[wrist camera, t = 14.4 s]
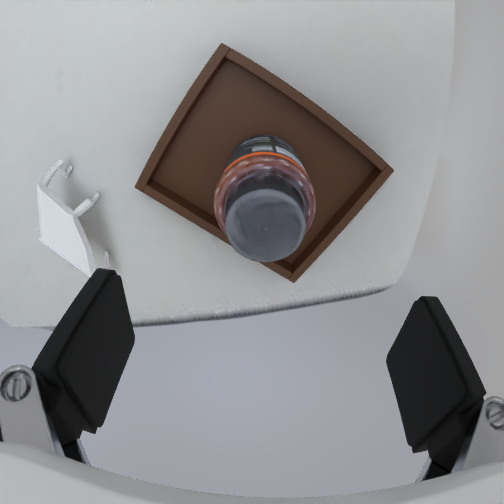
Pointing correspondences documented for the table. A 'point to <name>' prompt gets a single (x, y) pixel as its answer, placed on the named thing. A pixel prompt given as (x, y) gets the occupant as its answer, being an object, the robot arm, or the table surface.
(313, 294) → the table surface
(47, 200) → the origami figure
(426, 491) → the robot arm
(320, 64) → the table surface
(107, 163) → the table surface
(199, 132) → the serving tray
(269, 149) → the supplement bottle
